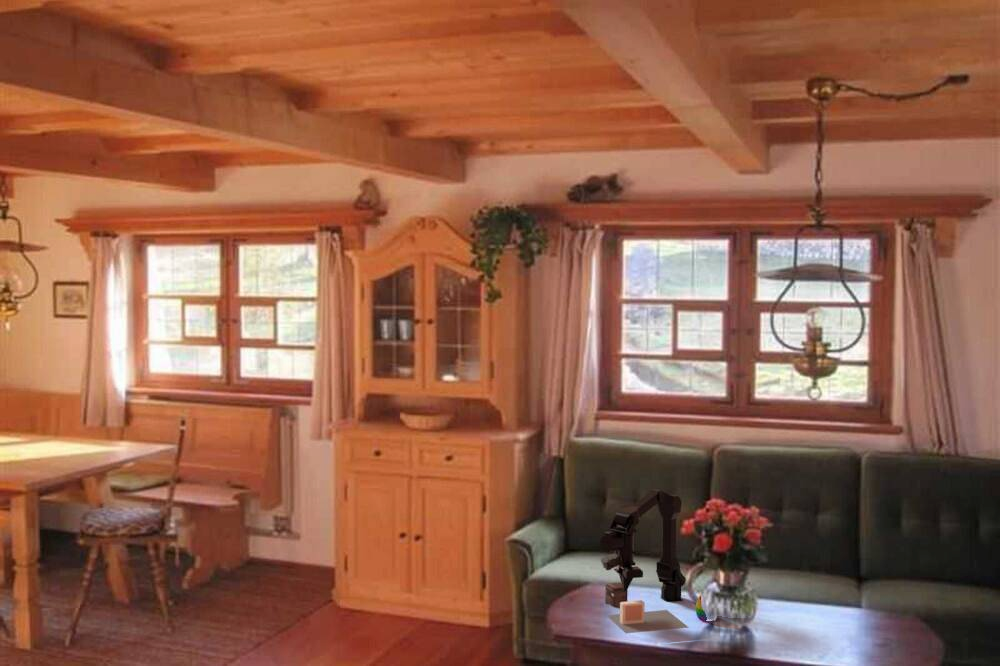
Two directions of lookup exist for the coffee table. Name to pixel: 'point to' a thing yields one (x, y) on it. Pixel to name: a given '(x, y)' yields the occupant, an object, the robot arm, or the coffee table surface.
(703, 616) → the decorative egg
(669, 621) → the mat
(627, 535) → the robot arm
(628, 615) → the plaque
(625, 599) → the box
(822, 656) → the coffee table surface
